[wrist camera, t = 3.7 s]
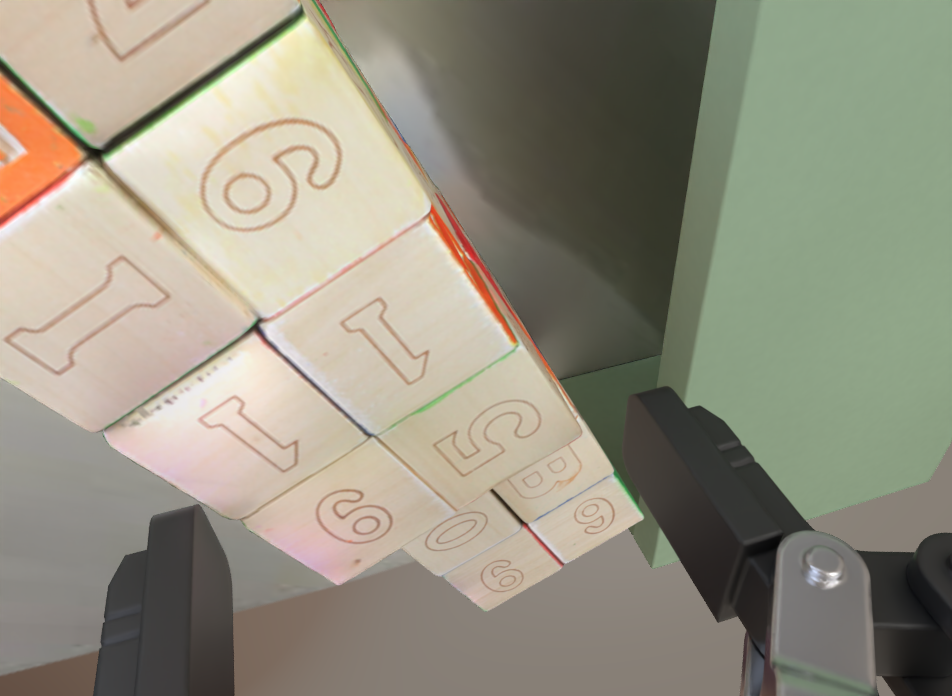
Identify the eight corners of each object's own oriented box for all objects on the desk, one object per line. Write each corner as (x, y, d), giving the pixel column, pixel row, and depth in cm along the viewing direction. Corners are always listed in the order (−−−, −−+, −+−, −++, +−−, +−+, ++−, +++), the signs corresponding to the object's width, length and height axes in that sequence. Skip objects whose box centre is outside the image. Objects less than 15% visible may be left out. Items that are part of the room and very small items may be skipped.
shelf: (555, 404, 31) (651, 570, 25) (576, -337, 16) (846, -435, 9) (784, 345, 34) (930, 481, 27) (994, -352, 18) (1451, -439, 12)
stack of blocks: (542, 348, 29) (699, 605, 20) (416, 425, 29) (512, 710, 20) (160, -259, 15) (81, -354, 6) (-67, -88, 15) (-483, 82, 6)
